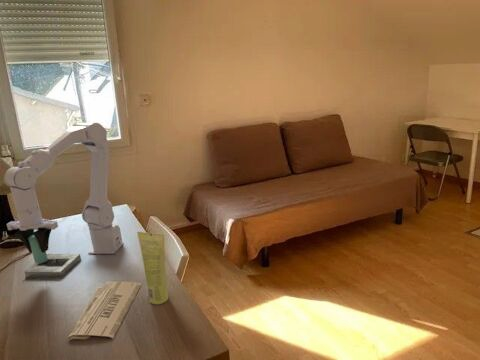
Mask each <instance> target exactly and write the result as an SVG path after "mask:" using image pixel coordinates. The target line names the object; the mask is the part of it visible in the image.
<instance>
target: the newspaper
mask: <svg viewBox="0 0 480 360" xmlns="http://www.w3.org/2000/svg"><path fill="white" fill-rule="evenodd" d="M141 284H142V283H139V282H132V281H131V282H130V281H107V282H105V284H104V285H99V286H97V288H96V290H95V291H94V293H93V294H92V297H91V298H90V299H89V301H88V303H87V304H86V305H85V308H84V310H83V311H82V313H81V315H80V317H79V319H78V321H77V323H76V325H75V326H74V328H73V329H72V331H71V332H70V334H69V335H68V340H72V341H73V340H87V339H90V338H91V336H97V337H109V338H111V339H114V338H115V337H116V335H117V332H118V331H119V329H120V327H121V325H122V323H123V321H124V319H125V317H126V315H127V314H128V311H129V310H130V308H131V306H132V304H133V302H134V300H135V298H136V296H137V294H138V293H137V292H139V291H140V289H139V288H141V287H142V285H141ZM140 286H141V287H140ZM138 290H139V291H138Z"/></svg>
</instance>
